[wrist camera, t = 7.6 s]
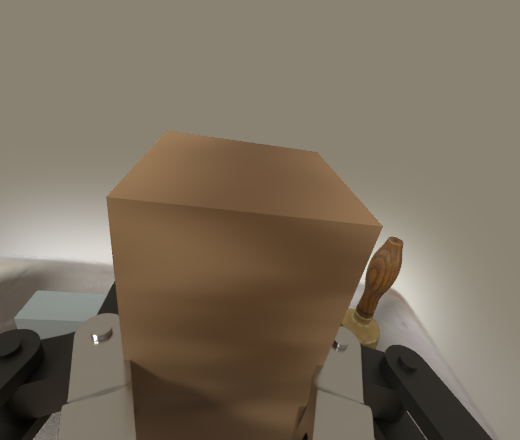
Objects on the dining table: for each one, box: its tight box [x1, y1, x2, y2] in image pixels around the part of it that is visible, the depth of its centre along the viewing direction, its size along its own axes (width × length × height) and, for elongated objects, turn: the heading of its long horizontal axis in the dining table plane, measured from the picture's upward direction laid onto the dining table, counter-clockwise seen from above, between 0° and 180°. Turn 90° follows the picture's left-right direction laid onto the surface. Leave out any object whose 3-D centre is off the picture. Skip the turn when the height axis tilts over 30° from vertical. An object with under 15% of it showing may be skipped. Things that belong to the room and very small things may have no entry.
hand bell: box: [342, 237, 403, 350], centre depth 29 cm, size 8×8×16 cm
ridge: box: [13, 290, 107, 339], centre depth 26 cm, size 16×7×8 cm, turn 95°
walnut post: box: [107, 131, 383, 440], centre depth 10 cm, size 5×5×13 cm
